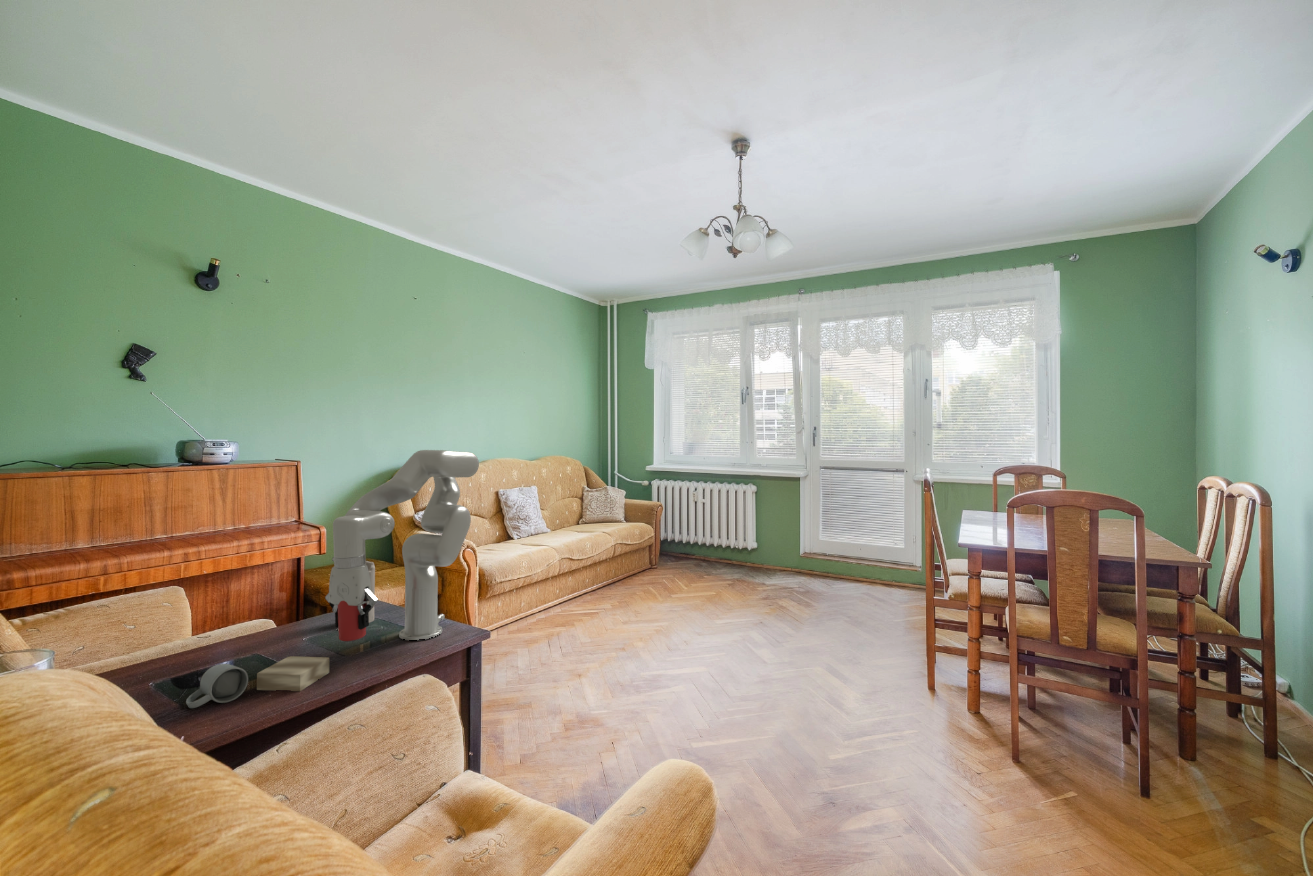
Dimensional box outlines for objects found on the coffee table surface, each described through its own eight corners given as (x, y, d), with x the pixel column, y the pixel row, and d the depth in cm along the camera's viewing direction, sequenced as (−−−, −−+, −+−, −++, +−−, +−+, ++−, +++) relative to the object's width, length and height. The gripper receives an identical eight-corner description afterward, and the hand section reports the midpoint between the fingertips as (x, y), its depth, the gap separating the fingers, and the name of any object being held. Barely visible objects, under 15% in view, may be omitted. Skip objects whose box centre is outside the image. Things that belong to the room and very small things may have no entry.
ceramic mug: (233, 687, 138) (233, 656, 138) (249, 695, 133) (248, 663, 133) (179, 704, 129) (179, 671, 129) (194, 714, 124) (194, 679, 124)
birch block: (288, 671, 147) (289, 656, 147) (329, 672, 147) (329, 657, 147) (256, 689, 136) (257, 673, 136) (300, 691, 136) (300, 674, 136)
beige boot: (330, 630, 179) (331, 568, 179) (360, 617, 193) (361, 559, 193) (350, 631, 178) (351, 569, 178) (378, 618, 192) (379, 560, 192)
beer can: (354, 643, 148) (352, 599, 148) (332, 641, 150) (331, 597, 149) (371, 634, 155) (370, 591, 154) (351, 632, 156) (349, 590, 156)
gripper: (312, 563, 150) (314, 629, 150) (367, 567, 146) (369, 634, 146) (334, 556, 157) (336, 619, 158) (387, 559, 153) (389, 623, 154)
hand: (352, 625), depth 152 cm, fingers closed on beer can, 6 cm apart
